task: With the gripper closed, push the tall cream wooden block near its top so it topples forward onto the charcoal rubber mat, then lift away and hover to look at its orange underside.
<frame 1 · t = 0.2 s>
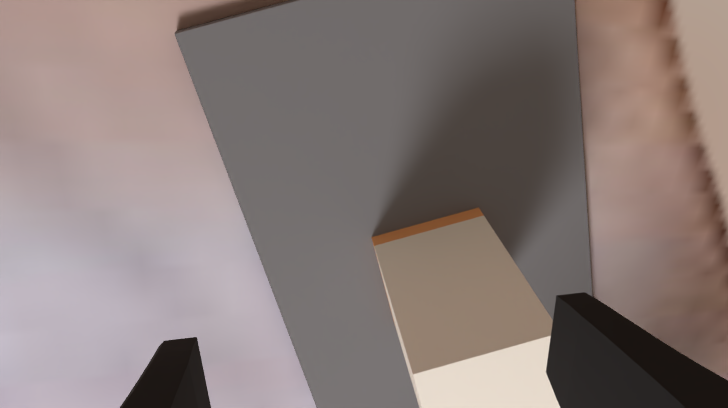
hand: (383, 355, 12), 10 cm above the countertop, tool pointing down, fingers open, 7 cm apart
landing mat: (424, 228, 23), on the countertop
tall block: (434, 266, 23), resting on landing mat
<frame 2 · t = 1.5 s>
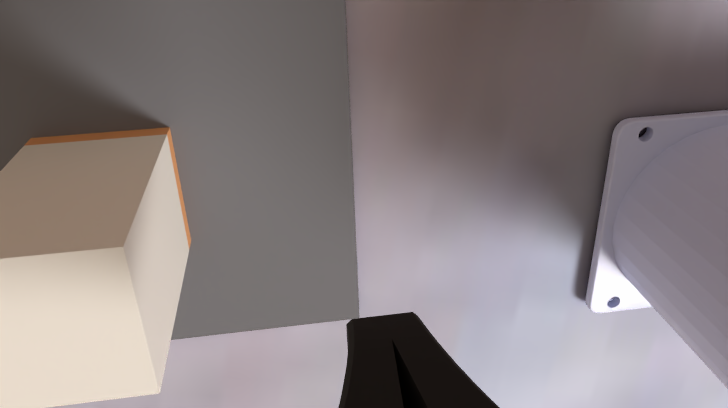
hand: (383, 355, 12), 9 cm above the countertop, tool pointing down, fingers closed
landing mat: (69, 191, 20), on the countertop
tall block: (115, 192, 19), resting on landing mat
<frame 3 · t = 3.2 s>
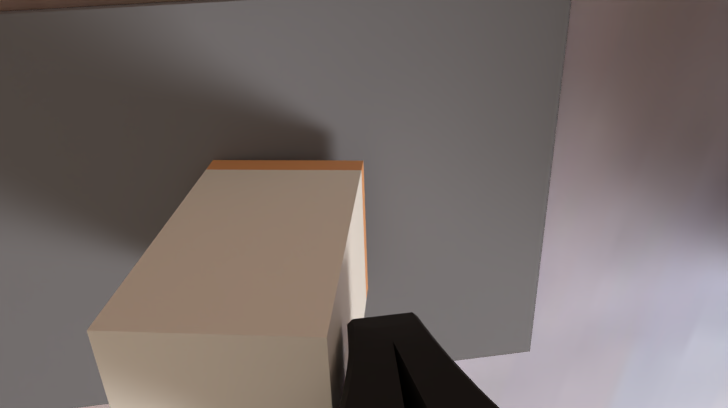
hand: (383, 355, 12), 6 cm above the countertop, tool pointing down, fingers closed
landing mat: (241, 217, 18), on the countertop
tall block: (293, 226, 17), point 1 cm above the countertop, tilted 13°, touching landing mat
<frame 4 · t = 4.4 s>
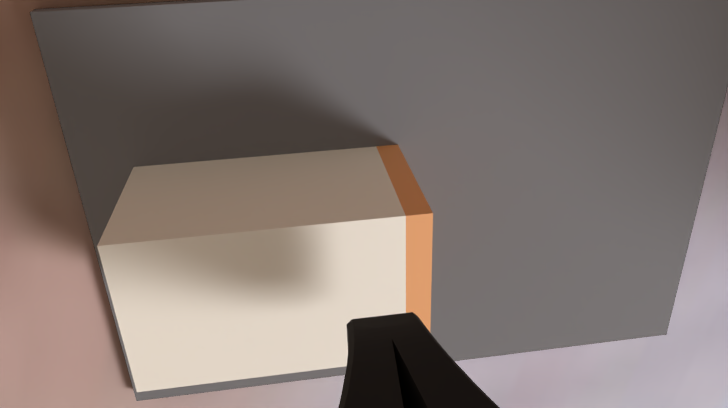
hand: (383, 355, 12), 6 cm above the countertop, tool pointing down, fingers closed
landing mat: (412, 201, 18), on the countertop
tall block: (413, 244, 16), point 2 cm above the countertop, tilted 90°, touching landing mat
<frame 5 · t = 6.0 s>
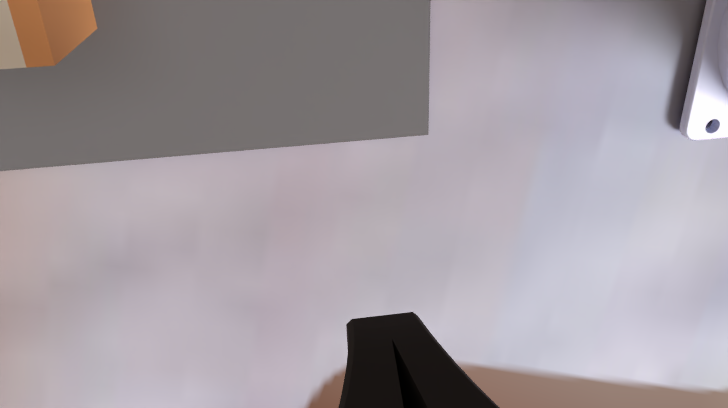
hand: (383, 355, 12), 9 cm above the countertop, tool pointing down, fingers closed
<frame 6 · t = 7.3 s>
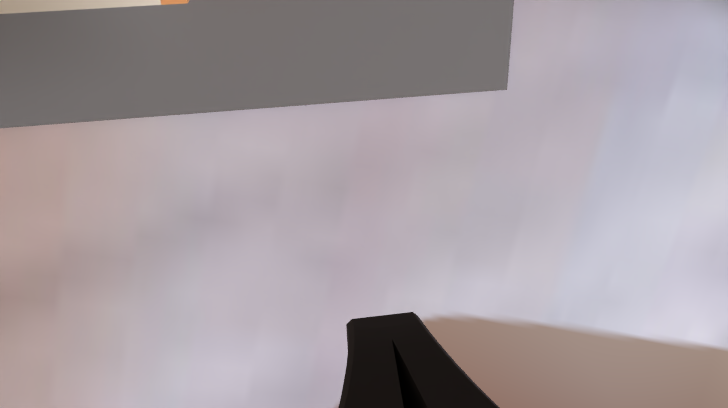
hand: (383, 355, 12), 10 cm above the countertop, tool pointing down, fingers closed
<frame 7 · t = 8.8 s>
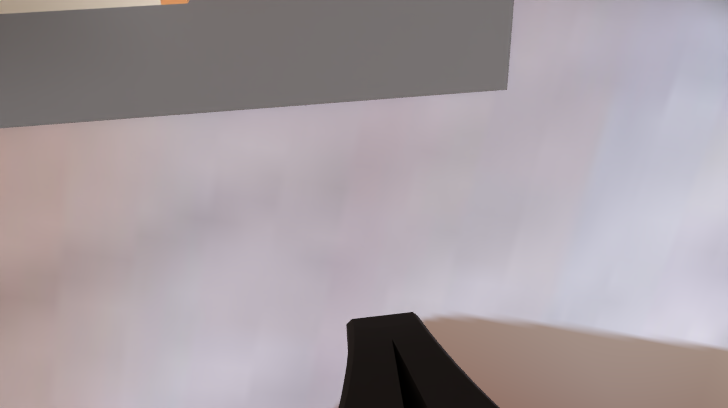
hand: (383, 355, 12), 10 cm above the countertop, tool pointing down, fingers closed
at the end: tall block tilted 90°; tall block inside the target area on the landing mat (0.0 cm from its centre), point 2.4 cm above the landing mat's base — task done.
